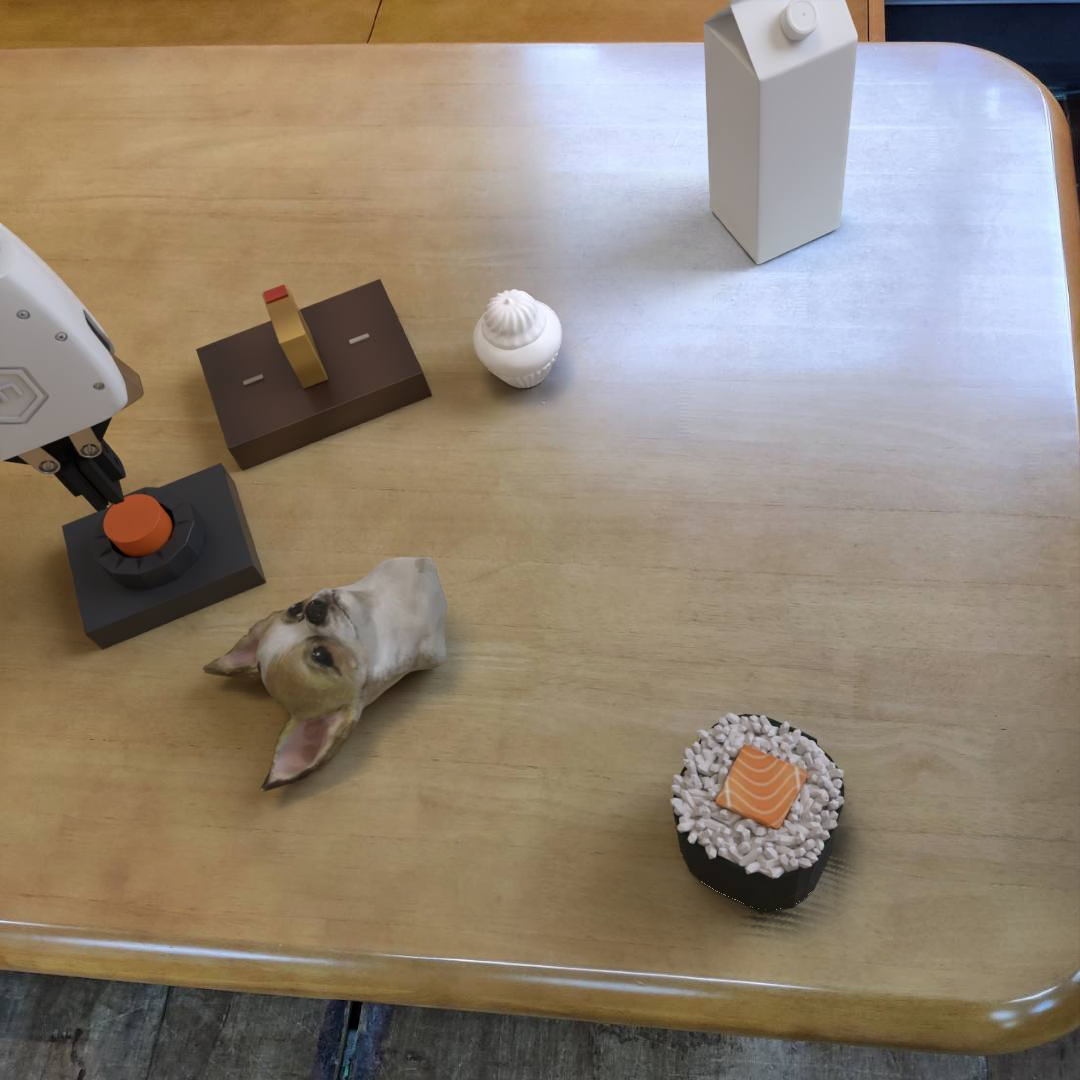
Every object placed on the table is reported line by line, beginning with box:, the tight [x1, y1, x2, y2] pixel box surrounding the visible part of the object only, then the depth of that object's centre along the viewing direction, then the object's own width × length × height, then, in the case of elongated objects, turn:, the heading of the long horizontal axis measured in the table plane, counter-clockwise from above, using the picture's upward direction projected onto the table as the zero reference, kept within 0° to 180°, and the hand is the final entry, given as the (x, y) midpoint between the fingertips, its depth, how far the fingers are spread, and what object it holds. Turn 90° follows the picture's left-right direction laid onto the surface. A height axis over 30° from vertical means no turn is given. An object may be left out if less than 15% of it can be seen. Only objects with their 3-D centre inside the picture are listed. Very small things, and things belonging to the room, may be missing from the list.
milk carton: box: [703, 0, 859, 265], centre depth 74 cm, size 7×7×19 cm
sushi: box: [669, 712, 845, 913], centre depth 57 cm, size 8×8×8 cm
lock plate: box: [195, 278, 432, 472], centre depth 78 cm, size 14×10×3 cm
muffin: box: [472, 288, 563, 389], centre depth 75 cm, size 6×6×7 cm
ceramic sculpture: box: [202, 555, 448, 793], centre depth 64 cm, size 11×9×15 cm
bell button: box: [103, 494, 173, 557], centre depth 69 cm, size 4×4×2 cm
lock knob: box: [261, 284, 328, 389], centre depth 75 cm, size 5×2×5 cm, turn 23°
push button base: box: [61, 462, 267, 651], centre depth 71 cm, size 11×9×4 cm
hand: (107, 488), depth 65 cm, fingers closed
